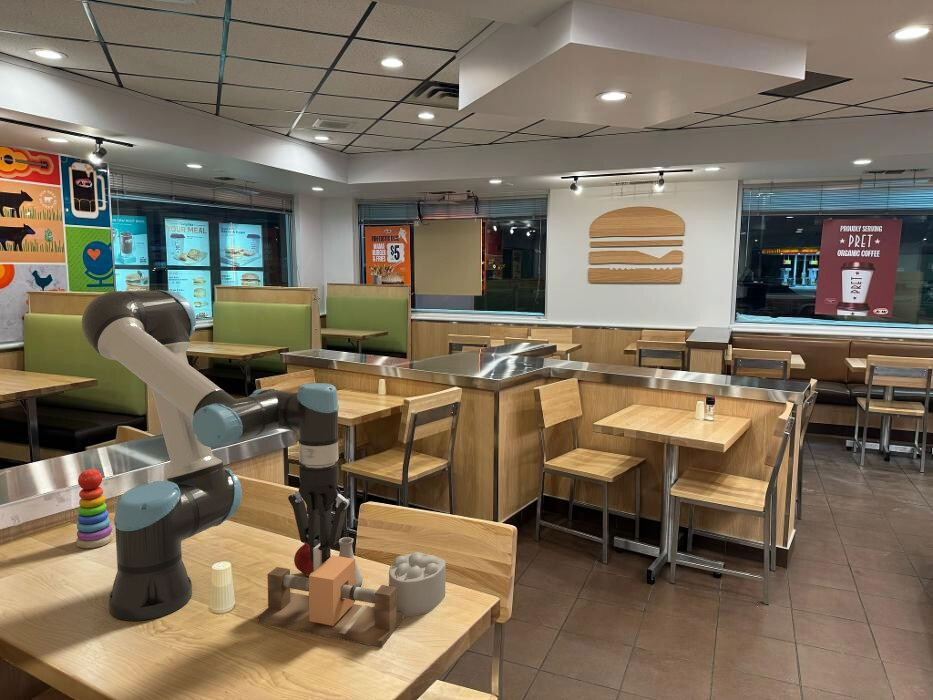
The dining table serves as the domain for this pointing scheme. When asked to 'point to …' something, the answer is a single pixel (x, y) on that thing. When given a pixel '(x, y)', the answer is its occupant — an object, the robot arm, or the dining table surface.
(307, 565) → the onion
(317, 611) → the collar
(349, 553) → the flask
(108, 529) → the stacking toy
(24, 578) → the dining table surface
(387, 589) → the pipe stand
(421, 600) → the lumpy-topped squat cylinder
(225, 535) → the dining table surface
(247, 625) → the dining table surface
